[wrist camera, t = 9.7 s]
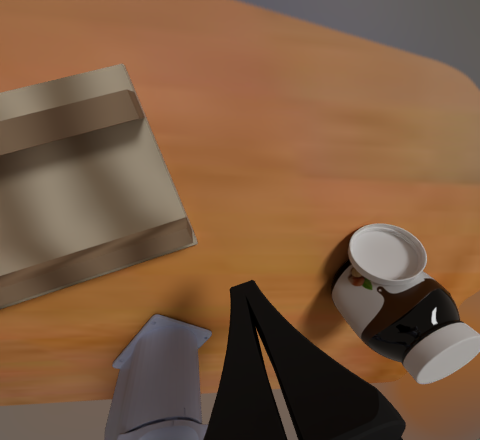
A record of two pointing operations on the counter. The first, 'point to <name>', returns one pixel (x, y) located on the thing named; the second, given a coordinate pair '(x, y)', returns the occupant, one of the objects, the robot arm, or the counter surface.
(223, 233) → the counter surface
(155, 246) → the channel
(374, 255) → the spread jar
